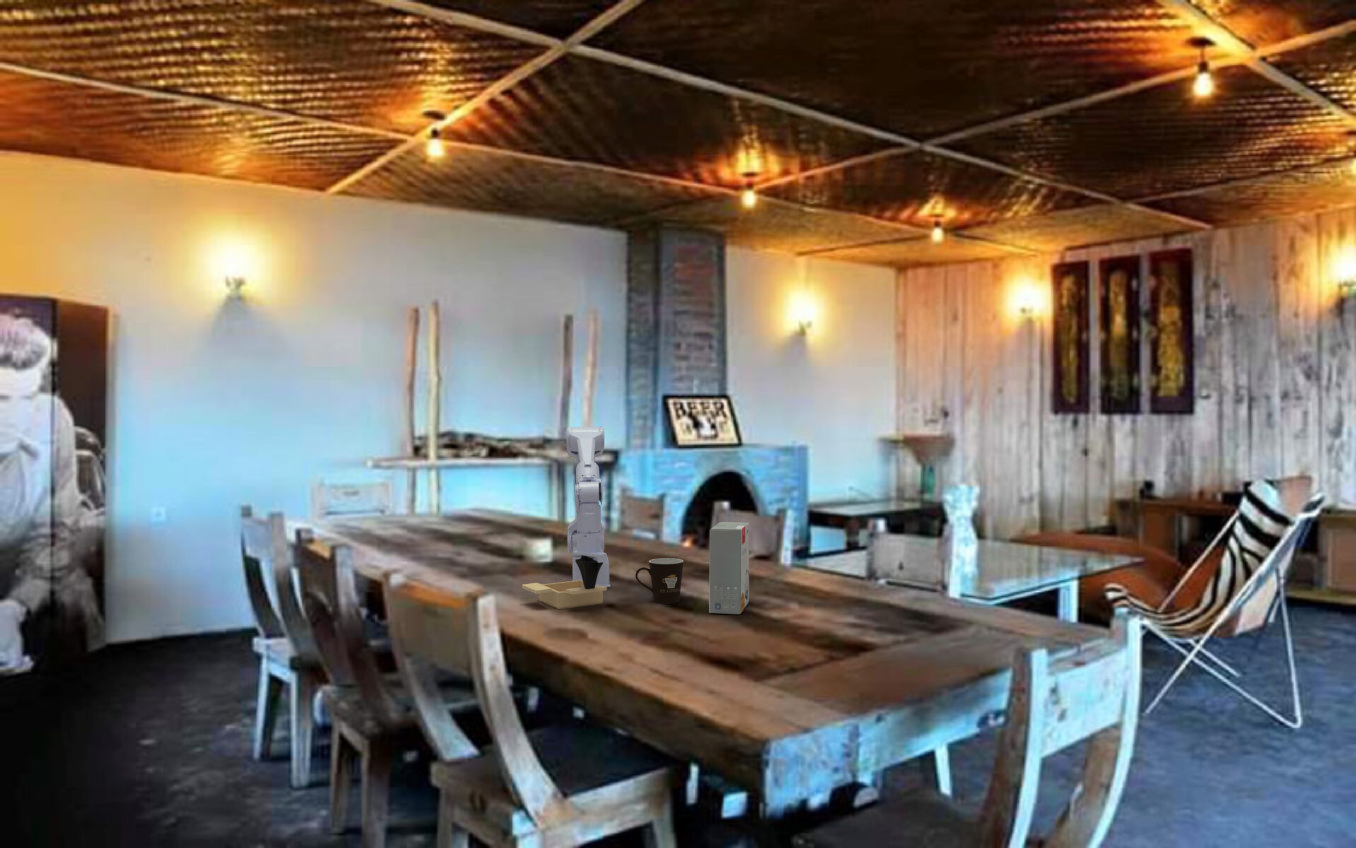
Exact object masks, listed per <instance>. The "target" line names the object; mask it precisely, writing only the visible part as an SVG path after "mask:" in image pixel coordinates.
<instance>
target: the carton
mask: <svg viewBox="0 0 1356 848" xmlns="http://www.w3.org/2000/svg"><path fill="white" fill-rule="evenodd" d="M541 584H542V585H544V586H547V587H549V588H551V589H552V592H547V593H540V594H538V602H540V603H543V604H544V605H547V606H550V607H552V608H554V609H556V610H564V609H565V610H567V609H571V608H572V609H573V608H579V607H588V606H594V605H603V604H604V591H598V592H590V593H582V594H574V595H572V594H569V593H566V590H565V589H571V588H579V587H584V584H583V580H577V581H573V580H571V581H569V580H568V581H561V582H553V583H541ZM595 586H596V585H595Z"/></svg>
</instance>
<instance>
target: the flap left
mask: <svg viewBox="0 0 1356 848" xmlns="http://www.w3.org/2000/svg"><path fill="white" fill-rule="evenodd" d="M565 590H566V593H569V594H572V595H574V594H582V593H590V592H598V591H603V592H605V591H607V590H608V587H604V586H601V585H596V586H595V588H594V589H585V588H584V587H579V588H571V589H565Z"/></svg>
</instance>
